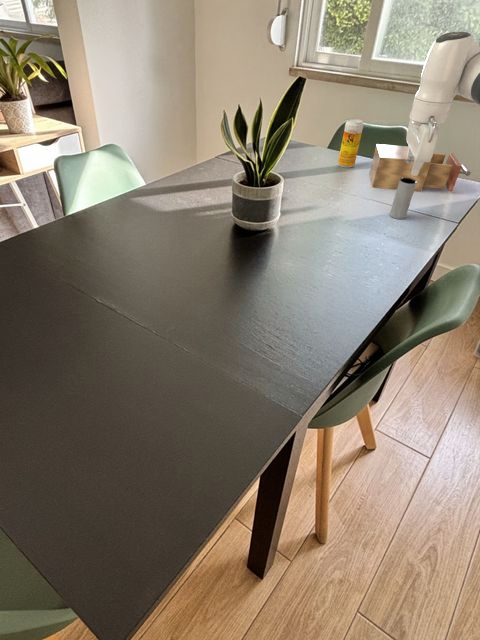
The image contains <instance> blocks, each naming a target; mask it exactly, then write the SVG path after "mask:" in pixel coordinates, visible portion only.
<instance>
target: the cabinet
mask: <svg viewBox="0 0 480 640" xmlns="http://www.w3.org/2000/svg"><path fill="white" fill-rule="evenodd" d="M408 148H409V146H405V145H393V144H379V143H376V145H375V149H374V153H373V157H372V160H371V164H370V169H369V178H370V183H371V188H375V189H386V190H396V191H397V187H398V184H399V181H400V179H401V178H411V179H414V180H416V181H417V183H416V187H415V190H414V192H420V193H422V190H423V188H424V187H423V185H424V182H425V179H426V176H427V173H428V170H429V167H430V164H431V160H430V162H424V163H423V165H422V167H421V168H420V170H419V173H418V175H417V176H412V175H411V173H410V172H411V169H412V167H413V165H414V162H413V164H407V163H406V159H407V155H408ZM414 160H415V159H414Z"/></svg>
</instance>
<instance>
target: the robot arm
mask: <svg viewBox="0 0 480 640" xmlns="http://www.w3.org/2000/svg"><path fill="white" fill-rule="evenodd" d="M455 96H460V97H463V98H464V99H467V100H470V101H472V102H475V104H477V105H479V106H480V45H479V44H478V43H477V42H476V41H475V40H474V38H473V37H472V34H471V33H469V32H467V31H451V32H445V33H443V34H441V35H439V36H438V37H437V38H436V39H435V40H434V42H433V43H432V45H431V47H430V49H429V51H428V53H427V56H426V59H425V62H424V65H423V68H422V71H421V73H420V82H419V87H418V90H417V92H416V93H415V96H414V99H413V102H412V103H411V106H410V109H409V112H410V113H409V116H408V119H409V122H408V127H407V132H406V139H405V141H406V143H407V144H408V147H409V148H408V155H407V159H406V163H407V164H413V162H414V165H413V167H412V169H411V172H410V173H411V175H412V176H417V175H418V173H419V170H420V168H421V167H422V165H423V163H424V162H430V160H431V159H432V156H433V153H435V150H436V147H437V142H438V139H439V135H440V128H439V127H440V125H442V124H445V123H446V122H447V119H448V116H449V114H450V111H451V107H452V105H453V101H454V99H455ZM414 159H415V160H414Z"/></svg>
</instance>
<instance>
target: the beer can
mask: <svg viewBox="0 0 480 640" xmlns="http://www.w3.org/2000/svg"><path fill="white" fill-rule="evenodd" d="M363 129H364V121H363V120H362V119H358V118H349V119H347V120H346V122H345V125H344V131H343V135H342V140H341V144H340V149H339V155H338V160H337V164H338V166H339V167H341V168H346V169H351V168H353V167H354V166H355V164H356V160H357V156H358V151H359V147H360V142H361V139H362V134H363Z"/></svg>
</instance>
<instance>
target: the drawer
mask: <svg viewBox="0 0 480 640" xmlns="http://www.w3.org/2000/svg"><path fill="white" fill-rule="evenodd" d="M446 157H447V158H446ZM445 158H446V160H445ZM444 161H446V162H445V163H444ZM460 174H461V175H465V177H469V176H470V175H471V174H472V173H471V171H470V169H469V168H468V166H467V165H466V164H465V163H463V164H461V163H460V162H459V159H457V157H456V155H455V154H454V153H451V152H449V153H448V156H446V153H437V152H434V153H433V156H432V159H431V164H430V167H429V170H428V173H427V176H426V179H425V182H424V185H423V188H431V189H442V190H444V189H445V187H446V189H447V191H448V192H453V190H454V188H455V185H456V183H457V180H458V177H459V175H460Z"/></svg>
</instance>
